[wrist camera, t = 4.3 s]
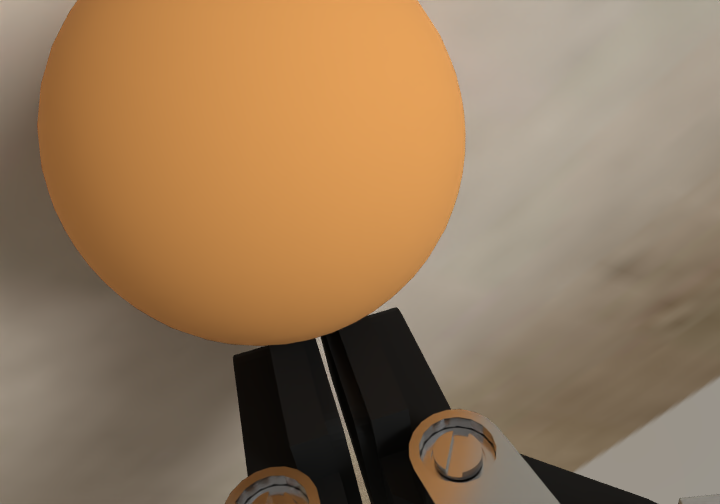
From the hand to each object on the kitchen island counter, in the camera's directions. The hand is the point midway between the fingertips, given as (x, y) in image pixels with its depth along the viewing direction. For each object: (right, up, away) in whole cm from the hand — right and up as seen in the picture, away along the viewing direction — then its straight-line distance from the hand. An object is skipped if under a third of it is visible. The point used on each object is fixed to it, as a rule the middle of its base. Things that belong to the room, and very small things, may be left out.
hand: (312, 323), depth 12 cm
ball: (0, +3, -3) cm, 4 cm away
